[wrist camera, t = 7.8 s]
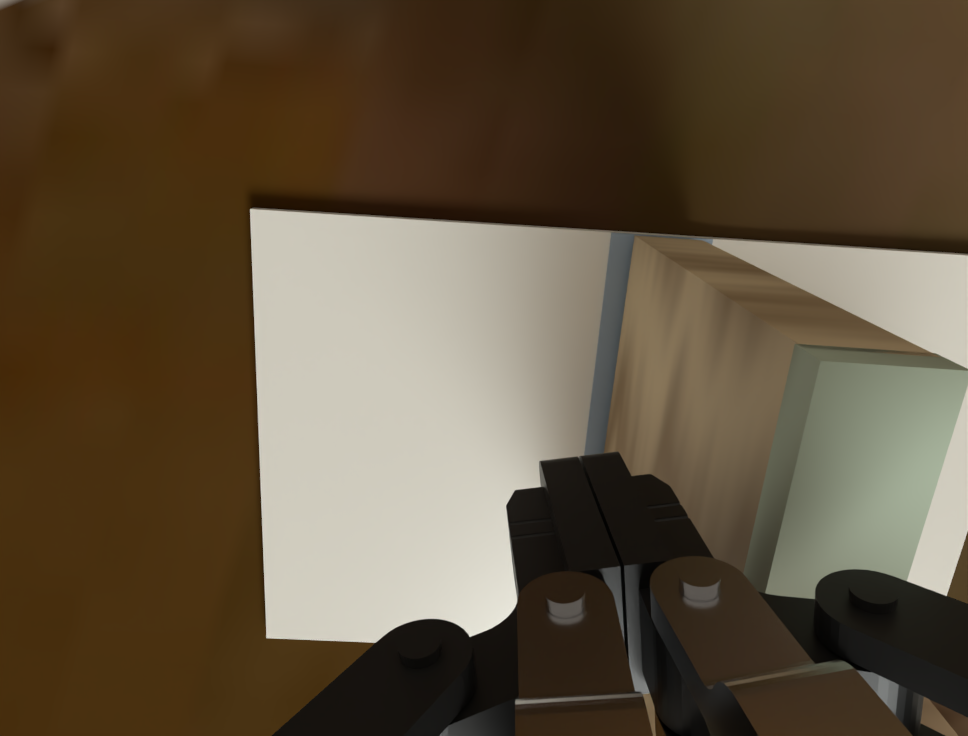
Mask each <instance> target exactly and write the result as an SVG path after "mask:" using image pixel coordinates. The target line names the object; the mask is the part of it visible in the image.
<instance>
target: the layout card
mask: <svg viewBox="0 0 968 736" xmlns="http://www.w3.org/2000/svg"><path fill="white" fill-rule="evenodd" d="M250 223H251V249H252V274H253V300H254V326H255V352H256V378H257V404H258V430H259V456H260V481H261V507H262V533H263V559H264V585H265V611H266V637H267V638H277V639H301V640H325V641H349V642H373V643H376V642H377V641H378V640H380V639H381V638H382V637H383V636H384V635H386V634H387V633H388V632H389V631H391V630H393V629H394V628H396V627H398V626H401V625H403V624H405V623H408V622H412V621H416V620H421V619H441V620H446V621H449V622H453V623H455V624H457V625H459V626H460V627H461V628H463V629H464V630H465V631H466V632H467V633H468V635H469V637H471V636H474V635H476V634H479V633H482V632H484V631H486V630H489V629H491V628H493V627H494V626H496V625H498V624H499V623H501V622H502V621H503V620H505V619H506V618H507V617H508V616H509V615H510V614H511V612H512V611H513V610H514V608H515V606H516V604H517V594H516V588H515V581H514V573H513V564H512V555H511V546H510V537H509V528H508V520H507V511H506V505H507V503H508V501H509V500H510V498H511V496H512V495H513V493H514V491H515V490H519V489H528V488H536V487H541V484H540V473H539V461H542V460H551V459H559V458H567V457H576V456H578V458H579V456H583V455H592V454H600V453H604V448H605V441H606V434H607V427H608V419H609V412H610V405H611V398H612V391H613V384H614V377H615V370H616V363H617V356H618V349H619V342H620V335H621V328H622V321H623V314H624V306H625V299H626V292H627V285H628V278H629V271H630V264H631V257H632V250H633V243H634V236H635V235H636V236H650V237H663V238H677V239H691V240H703V241H705V242H707V243H709V244H711V245H713V246H715V247H717V248H719V249H721V250H723V251H725V252H727V253H730V254H732V255H734V256H736V257H738V258H740V259H742V260H744V261H746V262H748V263H750V264H752V265H754V266H756V267H758V268H760V269H762V270H764V271H766V272H768V273H770V274H772V275H774V276H776V277H778V278H780V279H783V280H785V281H787V282H789V283H791V284H793V285H795V286H797V287H799V288H801V289H803V290H805V291H807V292H809V293H811V294H813V295H815V296H817V297H819V298H821V299H823V300H825V301H827V302H829V303H831V304H834V305H836V306H838V307H840V308H842V309H844V310H846V311H848V312H850V313H852V314H854V315H856V316H858V317H860V318H862V319H864V320H866V321H868V322H870V323H872V324H874V325H876V326H878V327H880V328H882V329H884V330H887V331H889V332H891V333H893V334H895V335H897V336H899V337H901V338H903V339H905V340H907V341H909V342H911V343H913V344H915V345H917V346H919V347H921V348H923V349H925V350H927V351H929V352H931V353H936V354H938V355H940V356H942V357H945V358H947V359H949V360H951V361H953V362H955V363H957V364H959V365H961V366H963V367H965V368H967V369H968V254H964V253H949V252H933V251H918V250H902V249H887V248H871V247H856V246H841V245H825V244H810V243H794V242H779V241H763V240H748V239H732V238H717V237H702V236H686V235H671V234H655V233H640V232H624V231H609V230H593V229H578V228H563V227H547V226H532V225H516V224H501V223H485V222H470V221H454V220H439V219H424V218H408V217H393V216H377V215H362V214H346V213H331V212H315V211H300V210H285V209H269V208H251V209H250ZM967 531H968V386H967V390H966V393H965V396H964V399H963V402H962V406H961V409H960V412H959V415H958V419H957V422H956V425H955V428H954V431H953V435H952V438H951V441H950V444H949V447H948V451H947V454H946V457H945V460H944V463H943V467H942V470H941V473H940V476H939V479H938V483H937V486H936V489H935V492H934V495H933V499H932V502H931V505H930V508H929V511H928V515H927V518H926V521H925V524H924V527H923V531H922V534H921V537H920V540H919V544H918V547H917V550H916V553H915V556H914V560H913V563H912V566H911V569H910V572H909V576H908V579H907V581H908V582H910V583H913V584H916V585H918V586H921V587H924V588H926V589H929V590H932V591H935V592H937V593H940V594H943V595H945V596H947V593H948V590H949V587H950V584H951V581H952V577H953V574H954V571H955V568H956V565H957V562H958V559H959V556H960V553H961V550H962V547H963V544H964V541H965V538H966V535H967Z"/></svg>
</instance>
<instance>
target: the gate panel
mask: <svg viewBox="0 0 968 736" xmlns="http://www.w3.org/2000/svg"><path fill="white" fill-rule="evenodd" d="M967 386H968V369H967V368H965V367H963V366H961V365H959V364H957V363H955V362H953V361H951V360H949V359H947V358H945V357H942V356H940V355H938V354H936V353H931V352H929V351H927V350H925V349H923V348H921V347H919V346H917V345H915V344H913V343H911V342H909V341H907V340H905V339H903V338H901V337H899V336H897V335H895V334H893V333H891V332H889V331H887V330H884V329H882V328H880V327H878V326H876V325H874V324H872V323H870V322H868V321H866V320H864V319H862V318H860V317H858V316H856V315H854V314H852V313H850V312H848V311H846V310H844V309H842V308H840V307H838V306H836V305H834V304H831V303H829V302H827V301H825V300H823V299H821V298H819V297H817V296H815V295H813V294H811V293H809V292H807V291H805V290H803V289H801V288H799V287H797V286H795V285H793V284H791V283H789V282H787V281H785V280H783V279H780V278H778V277H776V276H774V275H772V274H770V273H768V272H766V271H764V270H762V269H760V268H758V267H756V266H754V265H752V264H750V263H748V262H746V261H744V260H742V259H740V258H738V257H736V256H734V255H732V254H730V253H727V252H725V251H723V250H721V249H719V248H717V247H715V246H713V245H711V244H709V243H707V242H705V241H703V240H691V239H677V238H663V237H650V236H636V235H635V236H634V243H633V250H632V257H631V264H630V271H629V278H628V285H627V292H626V299H625V306H624V314H623V321H622V328H621V335H620V342H619V349H618V356H617V363H616V370H615V377H614V384H613V391H612V398H611V405H610V412H609V419H608V427H607V434H606V441H605V448H604V453H608V452H617V451H618V452H619V453H620V455H621V457H622V459H623V460H624V462H625V464H626V466H627V468H628V470H629V472H630V474H631V476H636V475H644V474H652V475H653V476H655V477H657V478H658V479H660V480H661V481H663V482H665V483H666V484H668V485H669V486H671V488H672V490H673V491H674V493H675V495H676V496H677V498H678V500H679V501H680V505H682V506H683V508H684V509H685V511H686V513H687V514H688V518H690V519H691V521H692V523H693V524H694V526H695V528H696V529H697V531H698V532H699V534H700V536H701V537H702V539H703V541H704V542H705V544H706V546H707V547H708V549H709V551H710V552H711V554H712V555H713V557H714V559H717V560H721V561H723V562H726V563H728V564H730V565H732V566H734V567H736V568H737V569H738V570H740V571H741V572H742V573H743V574H744V575H745V576H746V577H747V579H748V580H749V581H750V582H751V584H752V585H753V586H754V587H755V589H756V590H757V591H758V592H762V593H766V594H771V595H778V596H788V597H798V598H809V599H815V589H816V586H817V584H818V582H819V581H820V580H821V579H822V578H823V577H825V576H826V575H828V574H830V573H833V572H837V571H841V570H849V569H861V570H871V571H877V572H881V573H885V574H888V575H891V576H894V577H897V578H900V579H902V580H905V581H907V579H908V576H909V572H910V569H911V566H912V563H913V560H914V556H915V553H916V550H917V547H918V544H919V540H920V537H921V534H922V531H923V527H924V524H925V521H926V518H927V515H928V511H929V508H930V505H931V502H932V499H933V495H934V492H935V489H936V486H937V483H938V479H939V476H940V473H941V470H942V467H943V463H944V460H945V457H946V454H947V451H948V447H949V444H950V441H951V438H952V435H953V431H954V428H955V425H956V422H957V419H958V415H959V412H960V409H961V406H962V402H963V399H964V396H965V393H966V390H967ZM643 697H644V700H645V704H646V708H647V712H648V716H649V721H650V725H651V729H652V733H653V736H656V732H655V710H654V704H653V701H652V698H651V695H650V693H649V694H643Z"/></svg>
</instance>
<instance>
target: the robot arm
mask: <svg viewBox="0 0 968 736" xmlns="http://www.w3.org/2000/svg"><path fill="white" fill-rule="evenodd" d="M539 473H540V484H541V487H536V488H528V489H519V490H515V491H514V493H513V495H512V496H511V498H510V500H509V501H508V503H507V505H506V511H507V520H508V528H509V537H510V546H511V555H512V564H513V573H514V581H515V588H516V594H517V604H516V606H515V608H514V610H513V611H512V612H511V614H510V615H509V616H508V617H507V618H506V619H505V620H503V621H502V622H501V623H499V624H498V625H496V626H494V627H493V628H491V629H489V630H486V631H484V632H482V633H479V634H476V635H474V636H471V637H469V635H468V633H467V632H466V631H465V630H464V629H463V628H461V627H460V626H459V625H457V624H455V623H453V622H449V621H446V620H441V619H421V620H416V621H412V622H408V623H405V624H403V625H401V626H398V627H396V628H394V629H393V630H391V631H389V632H388V633H387V634H386V635H384V636H383V637H382V638H381V639H380V640H378V641H377V642H376V643H375V644H374V645H373V646H372V647H371V648H370V649H368V650H367V651H366V652H365V653H364V654H363V655H362V656H361V657H359V658H358V659H357V660H356V661H355V662H354V663H353V664H352V665H351V666H349V667H348V668H347V669H346V670H345V671H344V672H343V673H342V674H340V675H339V676H338V677H337V678H336V679H335V680H334V681H333V682H331V683H330V684H329V685H328V686H327V687H326V688H325V689H324V690H323V691H321V692H320V693H319V694H318V695H317V696H316V697H315V698H314V699H312V700H311V701H310V702H309V703H308V704H307V705H306V706H305V707H303V708H302V709H301V710H300V711H299V712H298V713H297V714H296V715H295V716H293V717H292V718H291V719H290V720H289V721H288V722H287V723H286V724H284V725H283V726H282V727H281V728H280V729H279V730H278V731H277V732H275V733H274V734H273V735H272V736H653V733H652V729H651V725H650V721H649V716H648V712H647V708H646V704H645V700H644V697H643V694H649V693H650V695H651V698H652V701H653V704H654V710H655V732H656V736H945V735H943V734H941V733H939V732H937V731H935V730H933V729H931V728H929V727H927V726H925V725H923V724H921V716H922V708H923V700H924V697H926V698H928V699H930V700H932V701H934V702H936V703H938V704H940V705H942V706H945V707H947V708H949V709H951V710H953V711H955V712H957V713H959V714H961V715H964V716H966V717H968V604H967V603H964V602H961V601H959V600H956V599H953V598H951V597H948V596H945V595H943V594H940V593H937V592H935V591H932V590H929V589H926V588H924V587H921V586H918V585H916V584H913V583H910V582H908V581H905V580H902V579H900V578H897V577H894V576H891V575H888V574H885V573H881V572H877V571H871V570H861V569H849V570H841V571H837V572H833V573H830V574H828V575H826V576H825V577H823V578H822V579H821V580H820V581H819V582H818V584H817V586H816V589H815V599H809V598H798V597H788V596H778V595H771V594H766V593H762V592H758V591H757V590H756V589H755V587H754V586H753V585H752V584H751V582H750V581H749V580H748V579H747V577H746V576H745V575H744V574H743V573H742V572H741V571H740V570H738V569H737V568H736V567H734V566H732V565H730V564H728V563H726V562H723V561H721V560H717V559H714V557H713V555H712V554H711V552H710V551H709V549H708V547H707V546H706V544H705V542H704V541H703V539H702V537H701V536H700V534H699V532H698V531H697V529H696V528H695V526H694V524H693V523H692V521H691V519H690V518H688V514H687V513H686V511H685V509H684V508H683V506H682V505H680V501H679V500H678V498H677V496H676V495H675V493H674V491H673V490H672V488H671V486H669V485H668V484H666V483H665V482H663V481H661V480H660V479H658V478H657V477H655V476H653V475H652V474H644V475H636V476H631V474H630V472H629V470H628V468H627V466H626V464H625V462H624V460H623V459H622V457H621V455H620V453H619V452H618V451H617V452H608V453H600V454H592V455H583V456H579V458H578V456H576V457H567V458H559V459H551V460H542V461H539Z"/></svg>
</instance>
